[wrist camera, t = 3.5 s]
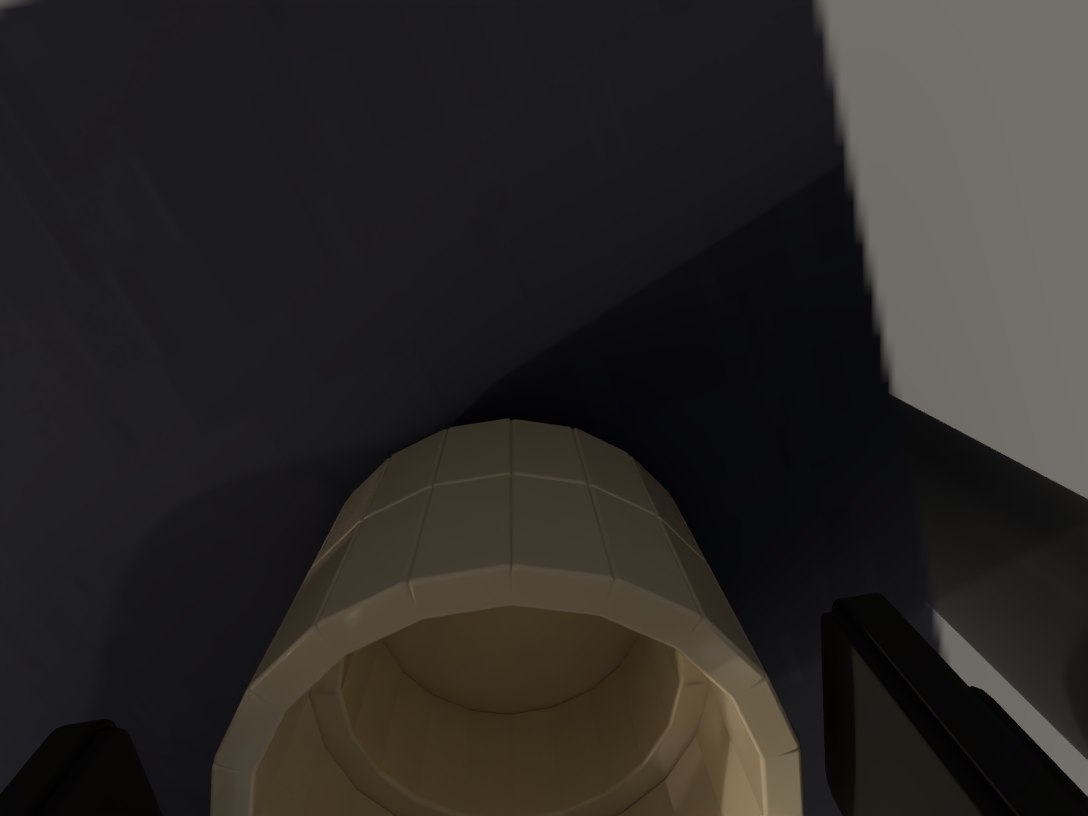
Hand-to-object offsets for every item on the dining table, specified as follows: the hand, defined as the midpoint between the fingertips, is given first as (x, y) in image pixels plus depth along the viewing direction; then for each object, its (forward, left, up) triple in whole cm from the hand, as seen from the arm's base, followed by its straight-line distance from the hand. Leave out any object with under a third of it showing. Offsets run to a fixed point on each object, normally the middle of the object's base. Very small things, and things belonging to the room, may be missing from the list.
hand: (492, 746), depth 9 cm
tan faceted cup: (0, 0, -4) cm, 4 cm away
